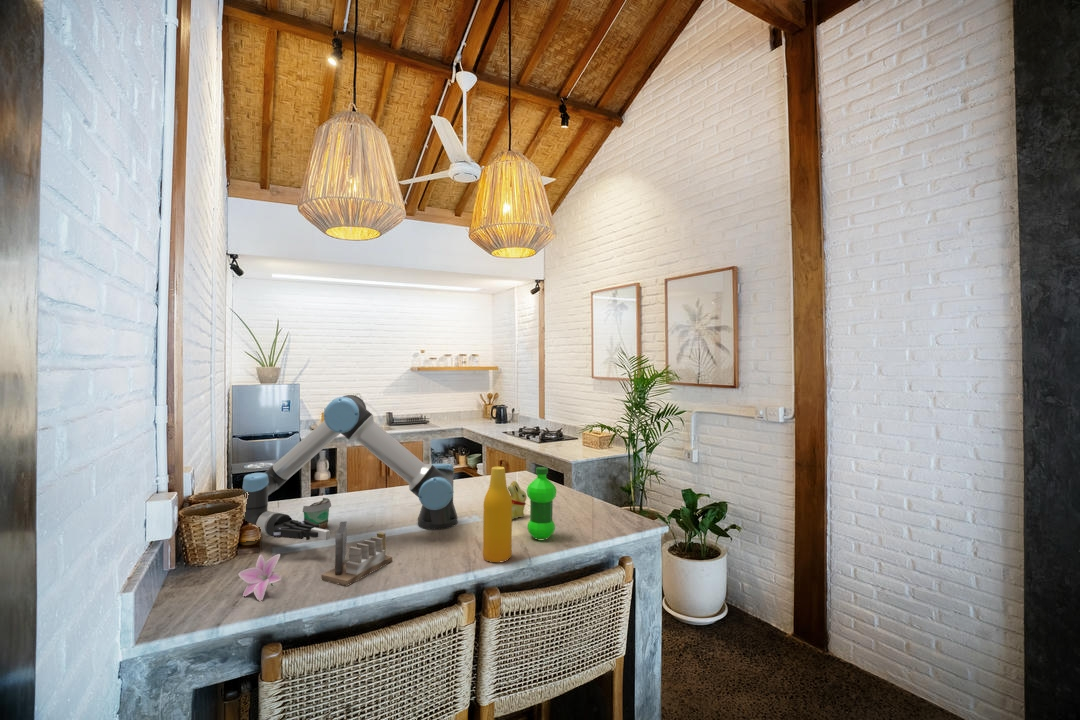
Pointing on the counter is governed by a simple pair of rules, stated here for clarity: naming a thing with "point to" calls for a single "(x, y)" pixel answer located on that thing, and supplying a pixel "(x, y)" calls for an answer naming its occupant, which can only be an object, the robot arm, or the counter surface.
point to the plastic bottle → (541, 505)
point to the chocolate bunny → (517, 500)
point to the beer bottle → (497, 518)
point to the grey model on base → (357, 559)
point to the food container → (318, 513)
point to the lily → (260, 576)
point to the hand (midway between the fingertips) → (327, 535)
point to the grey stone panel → (343, 530)
